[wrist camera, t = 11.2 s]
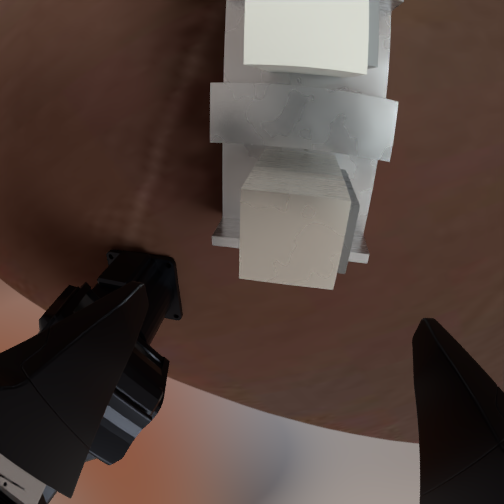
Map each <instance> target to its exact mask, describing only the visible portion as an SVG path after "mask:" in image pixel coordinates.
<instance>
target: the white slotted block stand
mask: <svg viewBox="0 0 504 504" xmlns="http://www.w3.org/2000/svg"><path fill="white" fill-rule="evenodd" d="M403 2H404V0H379V50H378V67H375V68H370V69H367V75H361V76H353V77H346V78H339V77H331V76H322V75H312V74H300V73H285V72H268V71H264V70H261V69H258V68H254V67H251V66H247V65H244V19H245V0H226V20H225V46H224V82H217V83H210V142H211V143H223V158H222V190H223V218H222V220H221V221H220V223H219V225H218V226H217V228H216V230H215V232H214V233H213V235H212V245H216V246H224V247H233V248H240V254H239V278H240V279H247V280H255V281H263V282H271V283H279V284H287V285H296V286H304V287H313V288H321V289H330V290H333V288H334V283H335V279H336V275H337V273H342V274H345V272H346V268H347V264H348V261H351V262H360V263H367V262H368V258H369V251H368V248H367V244H366V241H365V238H364V235H363V232H364V228H365V223H366V219H367V214H368V209H369V204H370V199H371V194H372V189H373V184H374V178H375V172H376V167H377V160H383V161H389V162H390V157H391V151H392V145H393V139H394V132H395V125H396V117H397V109H398V101H394V100H390V99H386V92H387V81H388V69H389V54H390V33H391V11H392V10H394V9H395V8H396V7H397V6H399V5H400V4H401V3H403Z"/></svg>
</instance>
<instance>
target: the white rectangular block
mask: <svg viewBox="0 0 504 504" xmlns="http://www.w3.org/2000/svg"><path fill="white" fill-rule="evenodd" d="M378 50H379V0H245V19H244V65H247V66H251V67H254V68H258V69H261V70H264V71H268V72H285V73H300V74H312V75H322V76H331V77H339V78H346V77H353V76H361V75H367V69H370V68H375V67H378Z"/></svg>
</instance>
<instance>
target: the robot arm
mask: <svg viewBox="0 0 504 504" xmlns="http://www.w3.org/2000/svg"><path fill="white" fill-rule="evenodd" d="M106 256H107V260H108V264H109V266H108V267H107V268H106V270H105V271H104V272H103V273H102V274H101V275H100V276H99V278H98V279H97V281H98V283H97V284H96V285H95V287H94V288H93V289H91V287H90V286H89V284H88V283H87V282H85V283H84V284H83V285H82V286H81V287H80V288H79V287H74V286H71V285H69V286H68V287H67V288H66V289H65V290H64V291H63V292H62V294H61V295H60V296H59V297H58V298H57V299H56V300H55V301H54V303H53V304H52V305H51V306H50V307H49V308H48V310H47V311H46V312H45V313H44V314H43V316H42V317H41V318H40V319H39V328H40V331H39V333H38V334H37V335H35V336H33V337H32V338H30V339H28V340H26V341H24V342H22V343H20V344H18V345H16V346H14V347H12V348H10V349H8V350H6V351H4V352H2V353H0V504H48V503H49V502H50V501H51V499H52V498H53V496H54V495H55V494H56V492H57V491H58V492H59V493H61V494H63V495H65V496H67V497H69V498H71V497H72V495H73V492H74V489H75V487H76V484H77V481H78V478H79V476H80V473H81V470H82V468H83V465H84V463H85V462H86V461H90V460H93V459H96V458H97V459H99V460H100V461H102V462H104V463H106V464H108V465H111V464H113V463H115V462H117V461H119V460H120V459H122V458H123V457H124V455H125V453H126V452H127V450H128V448H129V446H130V445H131V443H132V442H133V440H134V439H135V438H136V436H137V435H138V434H139V433H140V431H141V430H142V429H143V428H144V427H145V426H146V425H147V424H149V423H150V422H151V421H152V419H153V418H154V417H155V416H156V414H157V413H158V411H159V410H160V408H161V405H162V403H163V399H164V393H165V386H166V379H167V373H168V367H169V360H167V359H166V358H165V357H162V356H161V355H160V354H159V353H158V352H156V351H155V350H154V349H153V348H152V347H151V346H150V344H151V342H152V340H153V338H154V336H155V334H156V332H157V330H158V329H159V327H160V325H161V323H162V321H163V319H164V318H168V319H173V320H180V319H181V318H182V316H183V313H182V306H181V299H180V292H179V285H178V277H177V269H176V263H175V261H174V259H172V258H170V257H163V256H155V255H148V254H144V253H137V252H130V251H119V250H109V251H108V252H107V254H106ZM168 263H170V264H171V265H169V264H168ZM176 314H177V315H176ZM412 347H413V372H414V389H415V397H416V407H417V418H418V431H419V447H420V504H504V392H503V391H502V390H501V389H500V388H499V387H497V384H496V383H495V382H494V381H493V380H492V379H491V378H490V376H489V375H488V374H487V373H486V372H485V371H484V370H483V369H482V368H481V366H480V365H479V364H478V363H477V362H476V361H475V360H474V359H473V358H472V357H471V356H470V355H469V353H468V352H467V351H466V350H465V349H464V348H463V347H462V346H461V345H460V344H459V343H458V342H457V341H456V340H455V339H454V338H453V337H452V336H451V335H450V334H449V333H448V332H447V331H446V330H445V329H444V328H443V327H442V326H441V325H440V324H439V323H438V322H437V321H436V320H435V319H433V318H423V319H422V320H421V322H420V324H419V326H418V328H417V330H416V332H415V334H414V336H413V340H412Z"/></svg>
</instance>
